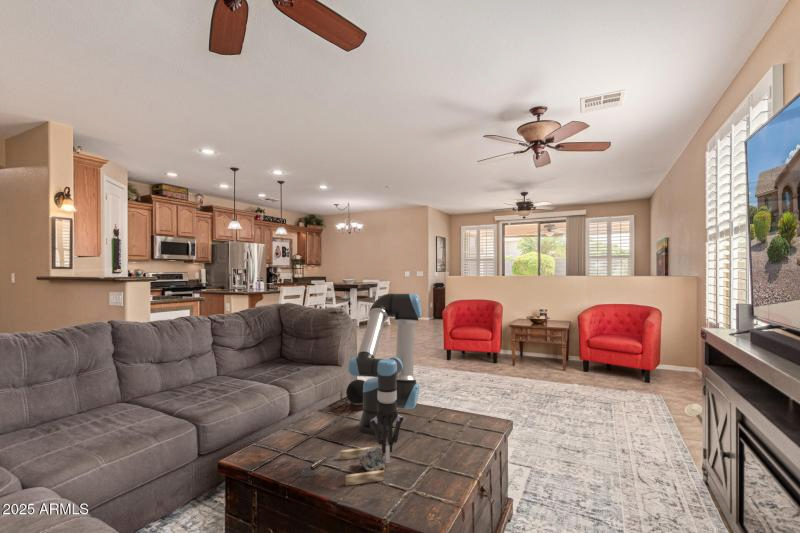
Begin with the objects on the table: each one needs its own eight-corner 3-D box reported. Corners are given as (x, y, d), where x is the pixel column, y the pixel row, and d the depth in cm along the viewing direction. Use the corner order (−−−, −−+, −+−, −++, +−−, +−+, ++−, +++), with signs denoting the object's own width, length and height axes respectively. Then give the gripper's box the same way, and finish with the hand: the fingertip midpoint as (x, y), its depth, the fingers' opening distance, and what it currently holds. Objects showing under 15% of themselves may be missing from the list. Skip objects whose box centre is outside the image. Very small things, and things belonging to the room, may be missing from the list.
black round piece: (372, 403, 215) (372, 376, 215) (368, 412, 202) (368, 384, 202) (349, 402, 216) (349, 376, 216) (343, 411, 203) (343, 383, 203)
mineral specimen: (371, 485, 144) (377, 464, 154) (385, 474, 141) (391, 454, 151) (352, 468, 143) (360, 448, 153) (366, 457, 141) (373, 438, 150)
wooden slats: (374, 453, 158) (374, 446, 158) (384, 480, 138) (384, 471, 138) (340, 458, 154) (340, 450, 154) (345, 485, 135) (345, 477, 135)
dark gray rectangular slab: (314, 470, 145) (314, 469, 145) (314, 476, 141) (314, 475, 141) (300, 472, 144) (300, 471, 144) (300, 477, 140) (300, 477, 140)
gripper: (400, 395, 154) (400, 454, 154) (368, 398, 151) (368, 458, 151) (405, 402, 147) (405, 463, 147) (372, 405, 143) (372, 468, 143)
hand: (386, 460), depth 149 cm, fingers closed
